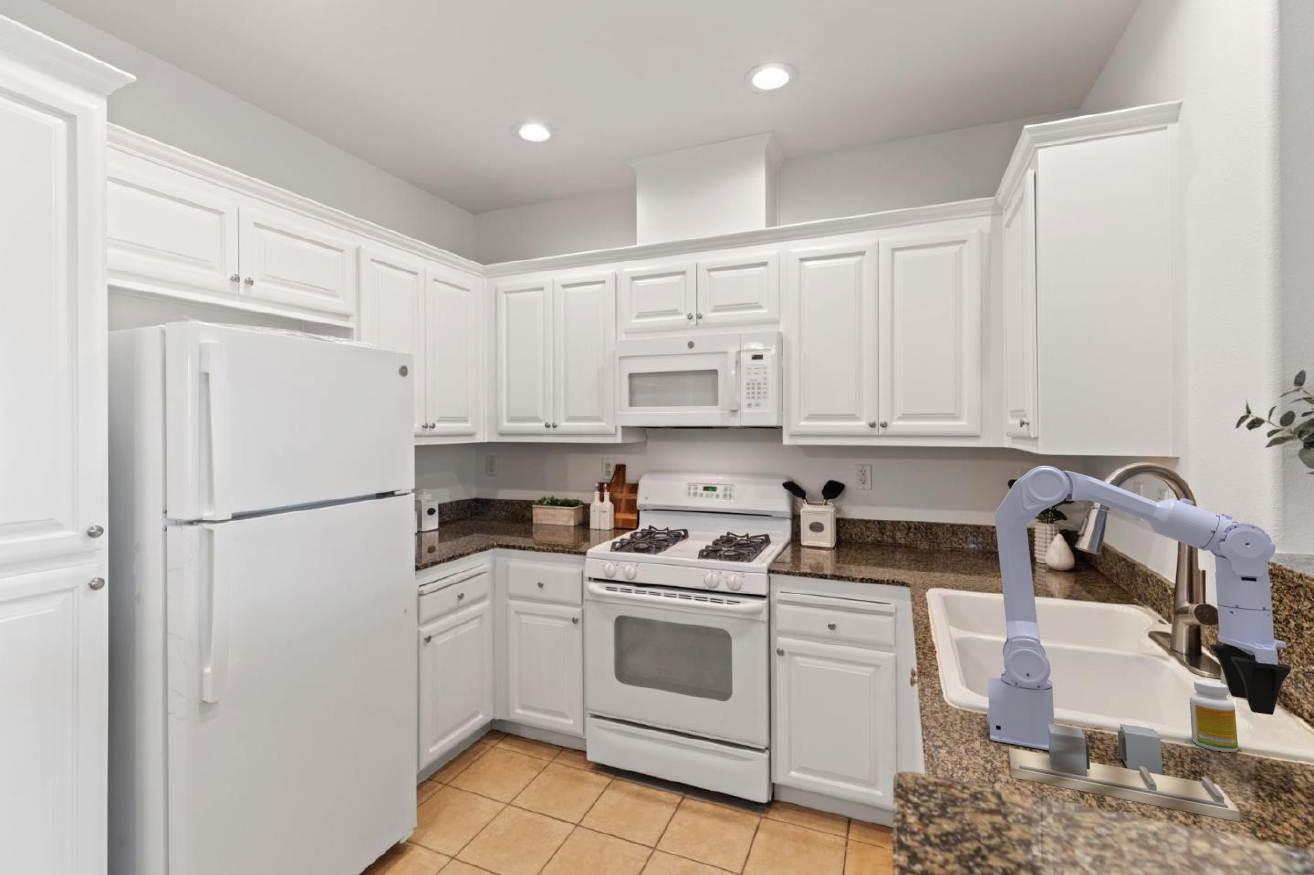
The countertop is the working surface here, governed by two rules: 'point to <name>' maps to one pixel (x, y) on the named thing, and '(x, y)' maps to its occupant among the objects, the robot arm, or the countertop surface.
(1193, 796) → the rail
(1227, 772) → the countertop surface
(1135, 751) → the finger part
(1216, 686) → the supplement bottle
